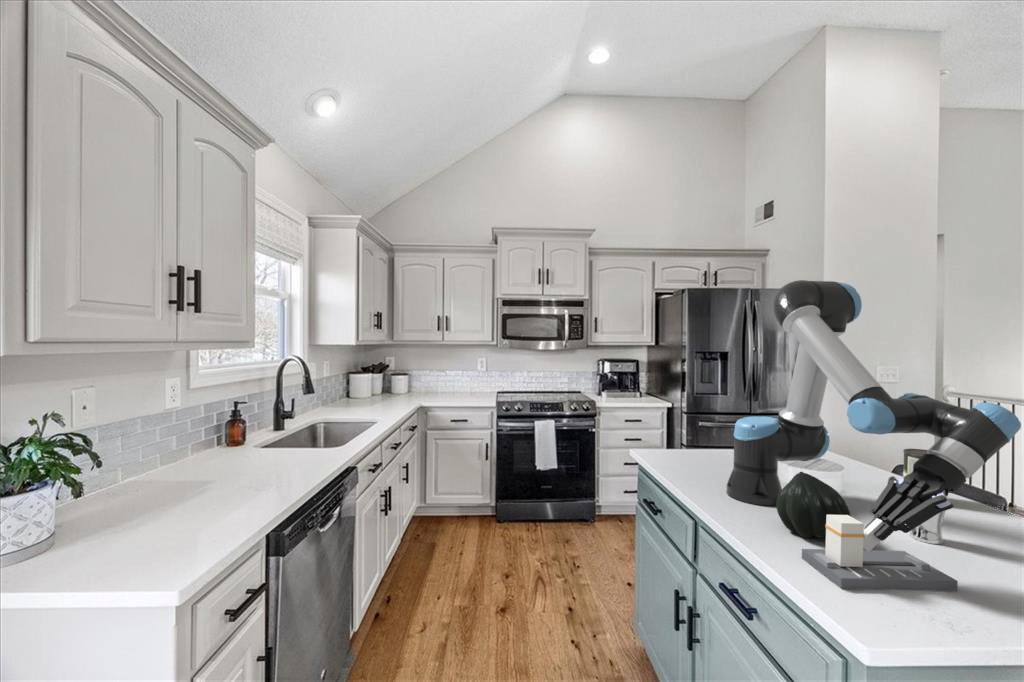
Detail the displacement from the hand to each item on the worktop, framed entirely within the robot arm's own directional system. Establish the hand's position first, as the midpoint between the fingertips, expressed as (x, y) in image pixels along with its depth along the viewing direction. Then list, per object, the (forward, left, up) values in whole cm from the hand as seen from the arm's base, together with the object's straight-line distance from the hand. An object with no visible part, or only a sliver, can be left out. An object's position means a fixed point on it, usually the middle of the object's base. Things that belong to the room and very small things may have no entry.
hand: (860, 546), depth 93 cm
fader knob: (-2, -3, -3) cm, 5 cm away
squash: (-16, +12, -6) cm, 20 cm away
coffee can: (-13, +69, -6) cm, 70 cm away
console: (+1, +3, -6) cm, 6 cm away
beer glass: (-1, +34, -6) cm, 34 cm away
